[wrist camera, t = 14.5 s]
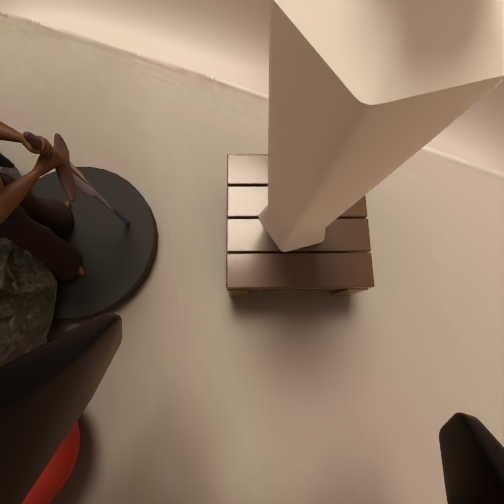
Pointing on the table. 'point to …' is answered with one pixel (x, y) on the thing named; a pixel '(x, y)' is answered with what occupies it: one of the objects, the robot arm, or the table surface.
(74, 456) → the kendama
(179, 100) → the table surface
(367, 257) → the stool
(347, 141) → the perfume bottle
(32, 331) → the rock
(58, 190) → the figurine
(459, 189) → the table surface
